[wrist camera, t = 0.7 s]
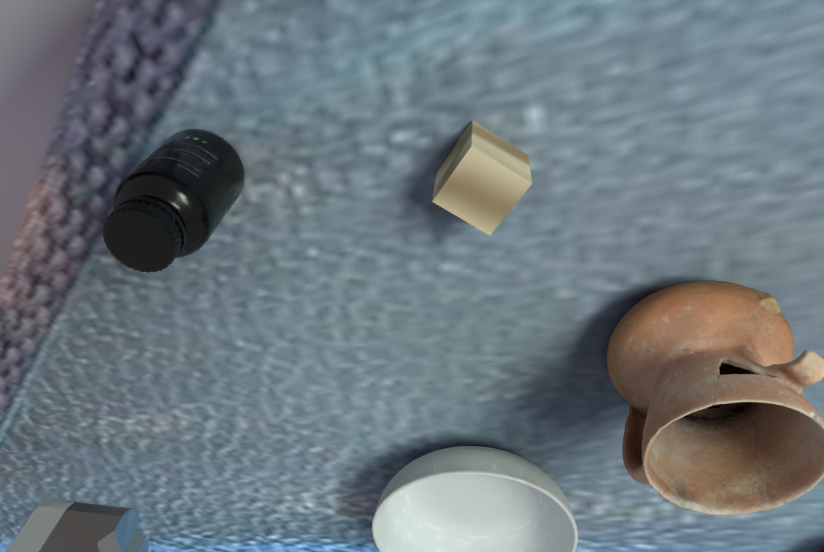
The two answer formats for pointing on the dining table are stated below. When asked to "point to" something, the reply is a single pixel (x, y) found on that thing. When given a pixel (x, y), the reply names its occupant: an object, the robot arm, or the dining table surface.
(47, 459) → the dining table surface
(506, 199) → the oak cube
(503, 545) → the serving bowl
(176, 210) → the supplement bottle
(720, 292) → the ceramic jug
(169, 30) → the dining table surface
